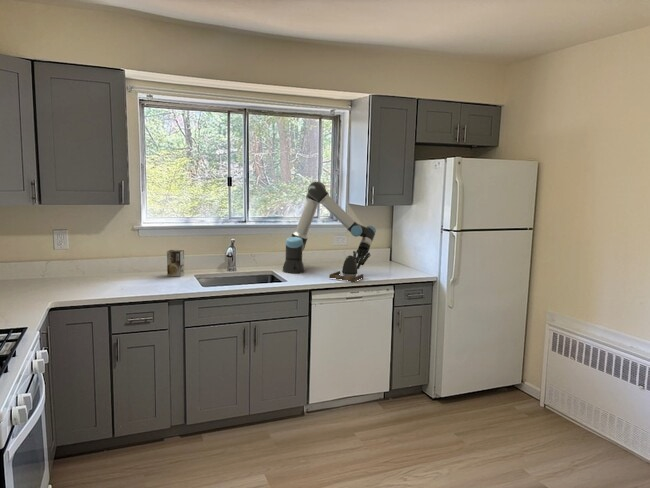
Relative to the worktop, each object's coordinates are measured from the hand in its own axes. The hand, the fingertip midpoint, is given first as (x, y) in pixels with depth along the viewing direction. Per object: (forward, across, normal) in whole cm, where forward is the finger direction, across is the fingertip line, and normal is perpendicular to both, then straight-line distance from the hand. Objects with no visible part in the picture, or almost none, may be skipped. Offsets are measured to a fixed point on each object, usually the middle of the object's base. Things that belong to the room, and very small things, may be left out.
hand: (354, 272), depth 325 cm
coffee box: (+50, +94, +47) cm, 117 cm away
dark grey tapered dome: (+7, 0, +2) cm, 7 cm away
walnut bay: (+9, +1, +5) cm, 11 cm away
